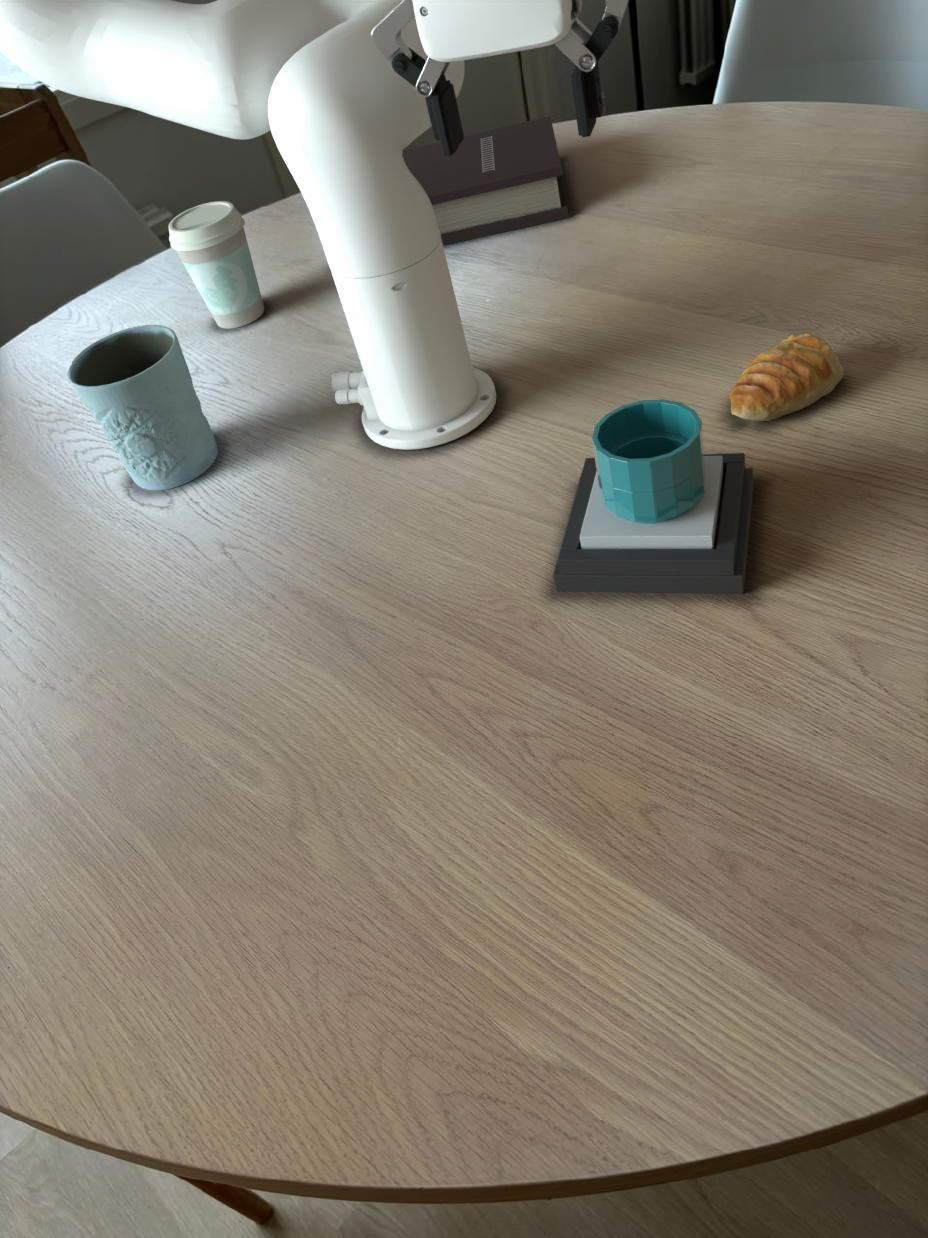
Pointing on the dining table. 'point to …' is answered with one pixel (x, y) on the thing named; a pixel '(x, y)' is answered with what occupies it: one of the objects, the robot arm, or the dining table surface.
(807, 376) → the pastry
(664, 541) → the pan
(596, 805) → the dining table surface
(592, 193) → the dining table surface
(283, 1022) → the dining table surface
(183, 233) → the coffee cup
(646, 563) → the scale
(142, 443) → the embossed blue pot
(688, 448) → the teal faceted cup
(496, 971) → the dining table surface
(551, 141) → the book
